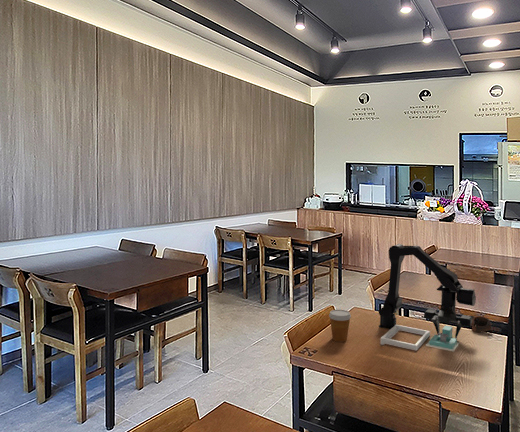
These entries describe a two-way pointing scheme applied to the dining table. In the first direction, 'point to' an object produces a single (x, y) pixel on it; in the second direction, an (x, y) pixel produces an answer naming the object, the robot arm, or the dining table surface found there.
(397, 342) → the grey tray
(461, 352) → the dining table surface
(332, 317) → the disposable coffee cup
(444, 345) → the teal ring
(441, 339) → the stake board
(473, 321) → the pottery mug
